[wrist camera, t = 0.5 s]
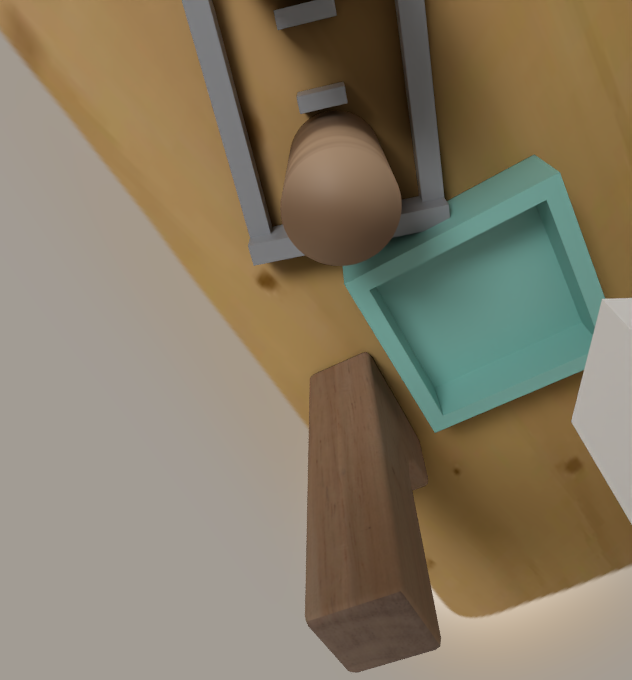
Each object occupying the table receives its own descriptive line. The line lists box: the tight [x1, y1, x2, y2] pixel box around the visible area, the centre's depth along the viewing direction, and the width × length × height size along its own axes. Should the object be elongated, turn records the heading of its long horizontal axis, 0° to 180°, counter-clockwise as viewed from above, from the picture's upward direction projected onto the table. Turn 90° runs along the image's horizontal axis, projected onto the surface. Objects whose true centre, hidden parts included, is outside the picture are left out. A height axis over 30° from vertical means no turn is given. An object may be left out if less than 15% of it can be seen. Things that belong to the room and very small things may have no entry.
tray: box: [343, 155, 605, 433], centre depth 34 cm, size 12×12×4 cm
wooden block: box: [305, 352, 441, 672], centre depth 32 cm, size 9×4×18 cm, turn 28°
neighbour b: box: [280, 110, 402, 266], centre depth 27 cm, size 5×5×9 cm
